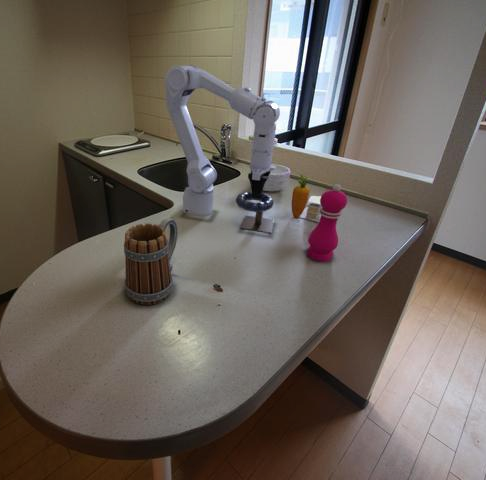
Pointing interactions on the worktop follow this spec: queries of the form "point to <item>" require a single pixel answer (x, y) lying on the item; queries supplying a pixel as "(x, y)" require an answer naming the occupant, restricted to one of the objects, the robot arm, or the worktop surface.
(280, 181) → the paper bowls
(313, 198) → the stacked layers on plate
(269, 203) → the ring
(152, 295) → the mug
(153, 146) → the worktop surface
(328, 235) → the pepper mill
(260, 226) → the post
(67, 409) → the worktop surface
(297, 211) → the carrot
